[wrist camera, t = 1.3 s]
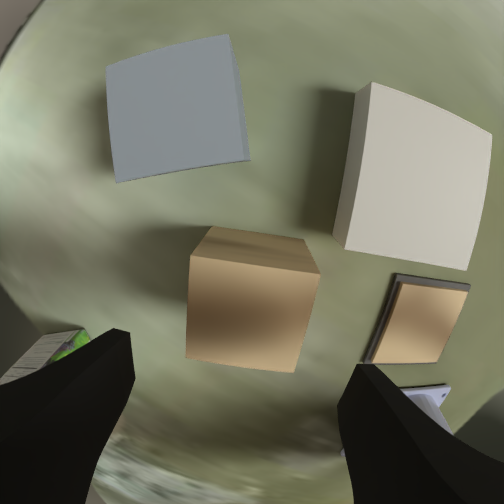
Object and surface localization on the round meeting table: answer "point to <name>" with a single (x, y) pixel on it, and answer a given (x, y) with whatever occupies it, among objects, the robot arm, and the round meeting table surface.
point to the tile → (416, 320)
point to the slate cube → (176, 109)
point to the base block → (411, 180)
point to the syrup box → (46, 353)
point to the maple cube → (249, 299)
